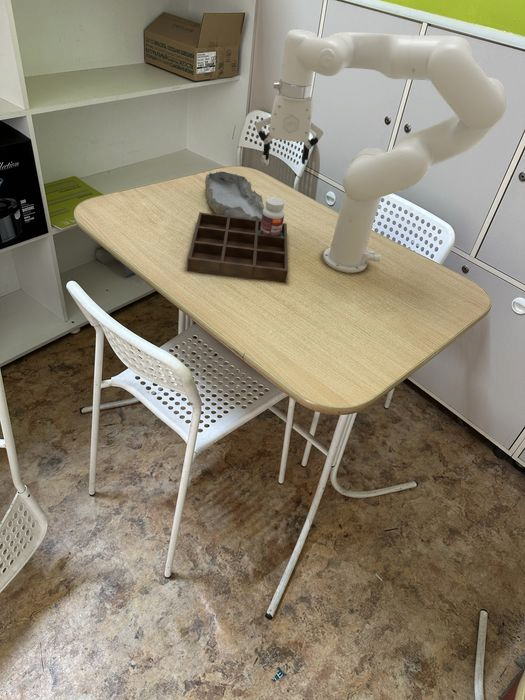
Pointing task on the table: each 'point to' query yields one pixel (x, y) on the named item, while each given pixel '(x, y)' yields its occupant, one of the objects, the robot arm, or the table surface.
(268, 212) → the pill bottle
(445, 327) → the table surface
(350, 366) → the table surface
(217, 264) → the grid board
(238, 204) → the stone
